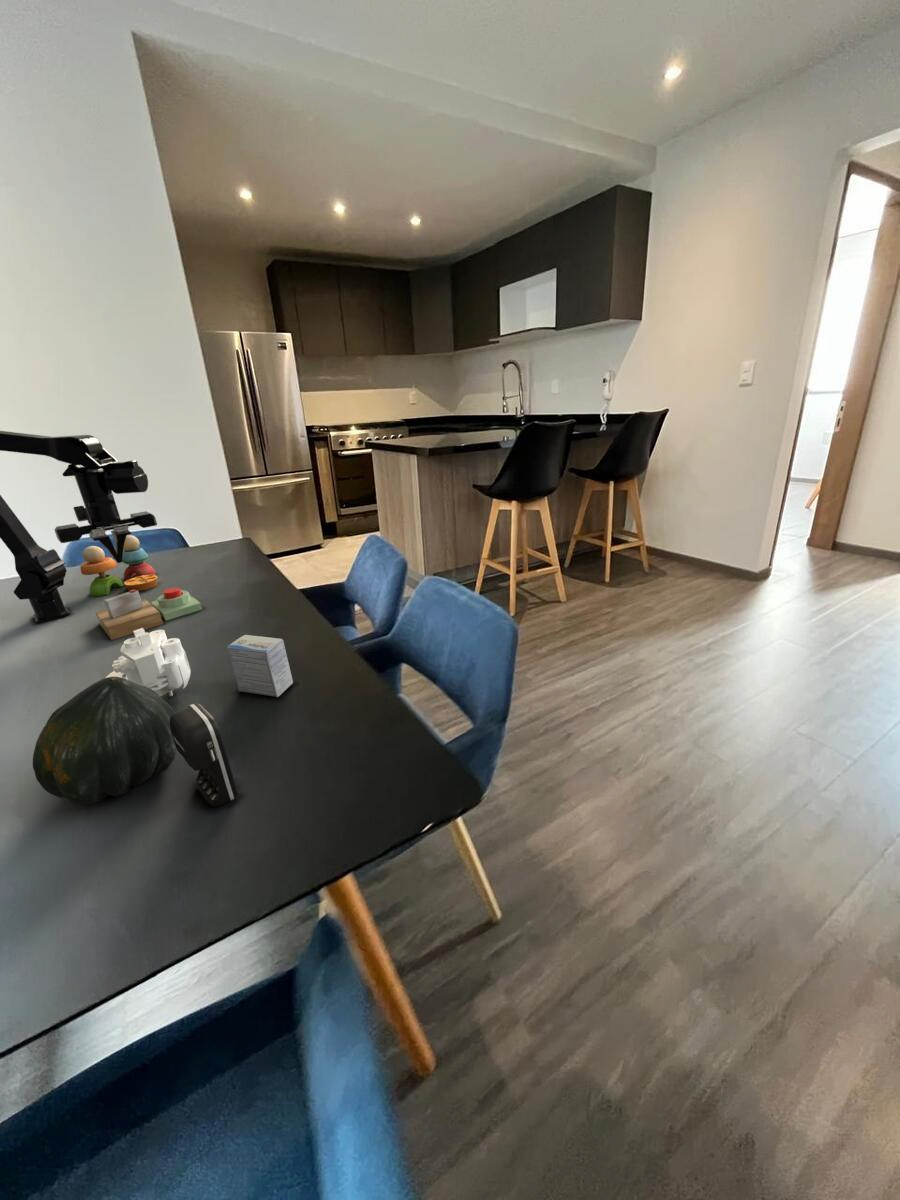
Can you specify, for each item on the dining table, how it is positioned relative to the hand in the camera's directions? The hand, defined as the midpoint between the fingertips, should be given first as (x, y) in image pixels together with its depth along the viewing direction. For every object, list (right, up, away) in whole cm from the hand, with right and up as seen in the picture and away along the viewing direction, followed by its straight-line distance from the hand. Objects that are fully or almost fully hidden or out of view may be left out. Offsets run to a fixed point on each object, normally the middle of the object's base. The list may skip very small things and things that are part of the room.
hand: (119, 562), depth 114 cm
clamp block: (+5, -14, -4) cm, 16 cm away
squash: (+35, -32, -50) cm, 69 cm away
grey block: (+5, -11, -5) cm, 14 cm away
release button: (+12, -8, +2) cm, 14 cm away
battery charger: (+48, -33, -54) cm, 79 cm away
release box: (+12, -11, +3) cm, 16 cm away
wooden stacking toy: (-11, -4, +23) cm, 26 cm away
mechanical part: (+29, -25, -34) cm, 51 cm away
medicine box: (+46, -24, -32) cm, 61 cm away
